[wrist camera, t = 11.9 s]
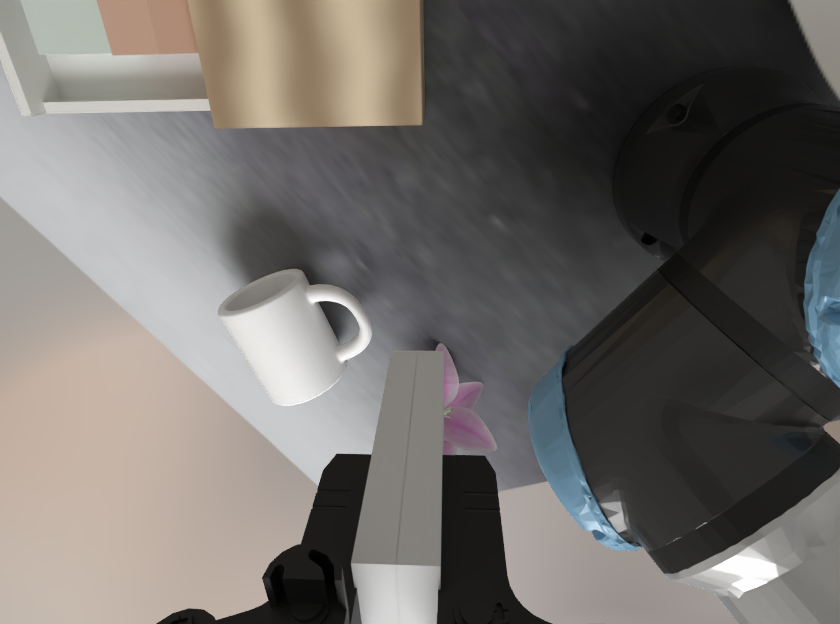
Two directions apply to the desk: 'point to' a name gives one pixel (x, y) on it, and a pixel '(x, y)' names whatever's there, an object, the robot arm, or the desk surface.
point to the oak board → (311, 62)
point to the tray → (94, 76)
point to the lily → (462, 413)
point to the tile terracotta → (148, 27)
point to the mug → (292, 334)
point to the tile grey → (66, 27)
